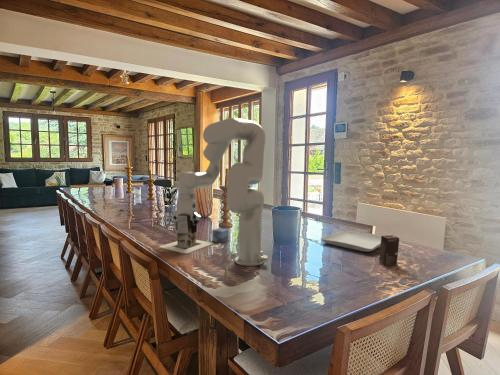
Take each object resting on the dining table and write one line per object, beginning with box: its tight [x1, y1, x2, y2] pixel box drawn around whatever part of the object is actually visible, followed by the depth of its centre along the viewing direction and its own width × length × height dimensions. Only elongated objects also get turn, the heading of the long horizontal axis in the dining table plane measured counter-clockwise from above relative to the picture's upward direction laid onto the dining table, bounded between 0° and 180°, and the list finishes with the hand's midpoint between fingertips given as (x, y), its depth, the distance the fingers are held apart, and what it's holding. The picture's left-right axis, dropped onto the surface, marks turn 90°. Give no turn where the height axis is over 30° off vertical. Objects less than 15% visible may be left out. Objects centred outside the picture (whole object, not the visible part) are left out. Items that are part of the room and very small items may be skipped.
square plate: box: [320, 230, 382, 253], centre depth 170 cm, size 27×27×4 cm
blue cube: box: [211, 227, 229, 244], centre depth 172 cm, size 6×6×6 cm
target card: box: [158, 239, 215, 255], centre depth 162 cm, size 18×20×1 cm
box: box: [378, 235, 400, 266], centre depth 139 cm, size 6×4×12 cm
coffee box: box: [176, 214, 197, 249], centre depth 161 cm, size 9×6×16 cm
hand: (186, 231), depth 162 cm, fingers open, 9 cm apart
